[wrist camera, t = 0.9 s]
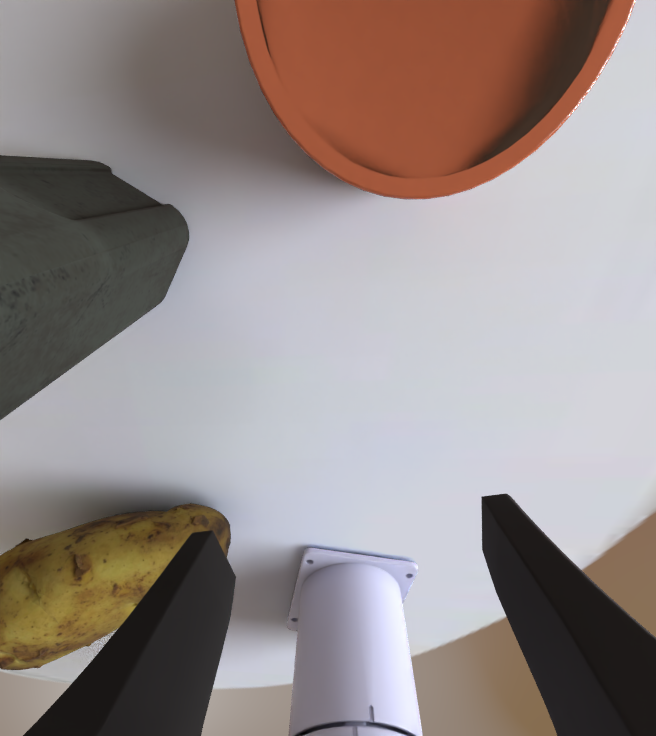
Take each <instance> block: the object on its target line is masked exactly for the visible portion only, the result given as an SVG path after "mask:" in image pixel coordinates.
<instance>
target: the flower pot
mask: <svg viewBox="0 0 656 736" xmlns="http://www.w3.org/2000/svg"><path fill="white" fill-rule="evenodd" d="M635 1H636V0H234V2H235V8H236V13H237V18H238V23H239V28H240V33H241V36H242V39H243V43H244V46H245V49H246V53H247V56H248V59H249V62H250V65H251V67H252V70H253V72H254V75H255V77H256V79H257V82H258V84H259V87H260V89H261V91H262V93H263V95H264V96H265V98H266V100H267V102H268V104H269V106H270V107H271V109H272V111H273V113H274V115H275V116H276V117H277V119H278V120H279V122H280V123H281V124H282V126H283V127H284V129H285V130H286V132H287V133H288V134H289V136H290V137H291V138H292V139H293V140H294V141H295V142H296V143H297V145H298V146H299V147H300V148H301V149H302V150H303V151H304V152H305V153H306V154H307V155H308V156H309V157H310V158H311V159H313V160H314V161H315V162H316V163H317V164H318V165H320V166H321V167H322V168H323V169H324V170H326V171H327V172H329V173H331V174H332V175H334V176H335V177H337V178H338V179H340V180H342V181H343V182H345V183H348V184H350V185H352V186H354V187H356V188H359V189H361V190H363V191H366V192H370V193H373V194H377V195H380V196H384V197H391V198H399V199H431V198H437V197H444V196H450V195H453V194H456V193H460V192H463V191H467V190H470V189H472V188H475V187H477V186H479V185H482V184H484V183H486V182H488V181H491V180H493V179H495V178H496V177H498V176H500V175H501V174H503V173H505V172H506V171H508V170H510V169H512V168H513V167H515V166H516V165H517V164H519V163H520V162H521V161H523V160H524V159H525V158H527V157H528V156H529V155H531V154H532V153H533V152H535V151H536V150H537V149H538V148H539V147H540V146H541V145H542V144H543V143H545V142H546V141H547V140H548V139H549V138H550V137H551V136H552V135H553V134H554V133H555V132H556V131H557V130H558V129H559V128H560V127H561V126H562V125H563V123H564V122H565V121H566V120H567V119H568V118H569V117H570V115H571V114H572V113H573V112H574V111H575V110H576V108H577V107H578V106H579V104H580V103H581V102H582V100H583V99H584V97H585V96H586V95H587V93H588V92H589V91H590V89H591V88H592V86H593V85H594V84H595V82H596V80H597V79H598V77H599V75H600V74H601V72H602V70H603V69H604V67H605V65H606V64H607V62H608V60H609V59H610V57H611V55H612V54H613V52H614V49H615V47H616V45H617V43H618V41H619V39H620V37H621V35H622V33H623V31H624V29H625V26H626V24H627V22H628V20H629V17H630V15H631V12H632V9H633V7H634V4H635Z"/></svg>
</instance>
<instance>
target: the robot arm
mask: <svg viewBox="0 0 656 736" xmlns="http://www.w3.org/2000/svg"><path fill="white" fill-rule="evenodd" d="M482 550H483V553H484V556H485V559H486V563H487V566H488V569H489V572H490V575H491V578H492V581H493V584H494V587H495V590H496V593H497V595H498V597H499V600H500V602H501V604H502V607H503V609H504V611H505V614H506V616H507V618H508V620H509V623H510V625H511V627H512V630H513V632H514V634H515V636H516V639H517V641H518V643H519V646H520V648H521V650H522V652H523V655H524V657H525V659H526V661H527V664H528V666H529V668H530V671H531V673H532V675H533V677H534V679H535V682H536V684H537V686H538V689H539V691H540V693H541V696H542V698H543V700H544V703H545V705H546V707H547V709H548V712H549V715H550V717H551V720H552V722H553V725H554V727H555V730H556V733H557V736H656V637H654V636H653V635H652V634H651V633H650V632H648V631H647V630H646V629H645V628H644V627H643V626H642V625H640V624H639V623H638V622H637V621H636V620H635V619H634V618H632V617H631V616H630V615H629V614H628V613H627V612H626V611H624V610H623V609H622V608H621V607H620V606H619V605H618V604H617V603H616V602H614V601H613V600H612V599H611V598H610V597H609V596H608V595H607V594H606V593H605V592H604V591H603V590H601V589H600V588H599V587H598V586H597V585H596V584H595V583H594V582H593V581H592V580H591V579H590V578H589V577H588V576H587V575H586V574H585V573H584V572H583V571H581V570H580V569H579V568H578V567H577V566H576V565H575V564H574V563H573V562H572V561H571V560H570V559H569V558H568V557H567V556H566V555H565V554H564V553H563V552H562V551H561V550H560V549H559V548H558V547H557V546H556V545H555V544H554V543H553V542H552V541H551V540H550V539H549V538H548V537H547V536H546V535H545V534H544V532H543V531H542V530H541V529H540V528H539V527H538V526H537V525H536V524H535V523H534V522H533V521H532V520H531V519H530V518H529V516H528V515H527V514H526V513H525V512H524V511H523V510H522V509H521V508H520V507H519V505H518V504H517V503H516V502H515V501H514V500H513V499H512V497H511V496H509V495H508V494H500V495H492V496H484V497H482ZM417 573H418V566H417V564H416V563H414V562H409V561H402V560H395V559H388V558H381V557H374V556H367V555H360V554H353V553H346V552H339V551H332V550H325V549H318V548H307V549H305V550H304V552H303V557H302V561H301V565H300V569H299V573H298V577H297V582H296V586H295V590H294V594H293V598H292V603H291V607H290V611H289V615H288V619H287V628H288V629H290V630H295V631H297V643H296V655H295V666H294V678H293V690H292V702H291V714H290V725H289V736H423V735H422V728H421V721H420V715H419V708H418V702H417V695H416V689H415V683H414V676H413V669H412V663H411V656H410V650H409V643H408V637H407V630H406V624H405V617H404V611H403V602H404V600H405V598H406V596H407V594H408V592H409V590H410V588H411V586H412V583H413V581H414V579H415V577H416V575H417ZM235 579H236V576H235V574H234V572H233V570H232V568H231V566H230V564H229V562H228V560H227V558H226V556H225V554H224V552H223V550H222V548H221V546H220V544H219V541H218V539H217V537H216V535H215V533H214V531H213V530H210V531H202V532H194V533H192V534H191V535H190V536H189V537H188V539H187V540H186V541H185V543H184V544H183V545H182V547H181V548H180V549H179V551H178V552H177V553H176V555H175V556H174V557H173V559H172V560H171V561H170V563H169V564H168V565H167V567H166V568H165V569H164V571H163V572H162V573H161V575H160V576H159V577H158V579H157V580H156V581H155V583H154V584H153V585H152V586H151V588H150V589H149V590H148V592H147V593H146V594H145V596H144V597H143V598H142V599H141V601H140V602H139V603H138V605H137V606H136V607H135V608H134V610H133V611H132V612H131V614H130V615H129V616H128V617H127V619H126V620H125V621H124V623H123V624H122V625H121V626H120V627H119V629H118V630H117V631H116V632H115V633H114V635H113V636H112V637H111V638H110V640H109V641H108V642H107V643H106V644H105V646H104V647H103V648H102V649H101V650H100V652H99V653H98V654H97V655H96V657H95V658H94V659H93V660H92V661H91V663H90V664H89V665H88V666H87V667H86V668H85V669H84V671H83V672H82V673H81V674H80V675H79V676H78V677H77V679H76V680H75V681H74V682H73V683H72V684H71V685H70V686H69V688H68V689H67V690H66V691H65V692H64V693H63V694H62V695H61V696H60V697H59V699H57V701H56V702H55V703H54V704H53V705H52V706H51V707H50V708H49V709H48V710H47V711H46V712H45V714H44V715H43V716H42V717H41V718H40V719H39V720H38V721H37V722H36V723H35V724H34V725H33V726H32V727H31V728H30V729H29V730H28V731H27V732H26V733H25V734H24V735H23V736H201V732H202V728H203V724H204V720H205V716H206V711H207V708H208V704H209V700H210V696H211V692H212V688H213V684H214V680H215V677H216V673H217V669H218V665H219V661H220V657H221V653H222V649H223V645H224V641H225V637H226V633H227V629H228V625H229V621H230V615H231V609H232V602H233V595H234V587H235Z"/></svg>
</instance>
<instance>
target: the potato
mask: <svg viewBox="0 0 656 736" xmlns="http://www.w3.org/2000/svg"><path fill="white" fill-rule="evenodd" d="M210 530H213V531H214V533H215V535H216V537H217V539H218V541H219V544H220V546H221V548H222V550H223V552H224V554H225V556H226V558H227V554H228V549H229V545H230V539H231V533H230V524H229V522H228V520H227V519H226V518H225V517H224V515H222V514H221V513H220V512H218V511H216V510H215V509H212V508H209V507H206V506H202V505H197V504H191V503H190V504H183V505H179V506H175V507H173V508H172V509H170V510H168V511H167V512H165V511H146V512H133V513H125V514H121V515H114V516H110V517H106V518H102V519H99V520H95V521H92V522H89V523H86V524H83V525H80V526H77V527H74V528H71V529H68V530H65V531H62V532H59V533H55V534H52V535H49V536H45V537H42V538H39V539H36V540H29V539H25V540H24V541H22V542H21V543H20V544H18V545H16V546H15V547H14V548H13V549H11V550H9V551H7V552H5V553H3V554H2V555H0V668H1V669H3V670H23V669H30V668H40V667H41V666H42V665H44V664H47V663H49V662H51V661H54V660H56V659H58V658H61V657H63V656H65V655H67V654H69V653H71V652H73V651H75V650H78V649H80V648H82V647H84V646H90V645H91V643H93V642H94V641H96V640H98V639H100V638H102V637H104V636H105V635H107V634H109V633H111V632H112V631H114V630H116V629H118V628H119V627H120V626H121V625H122V624H123V623H124V621H125V620H126V619H127V617H128V616H129V615H130V614H131V612H132V611H133V610H134V608H135V607H136V606H137V605H138V603H139V602H140V601H141V599H142V598H143V597H144V596H145V594H146V593H147V592H148V590H149V589H150V588H151V586H152V585H153V584H154V583H155V581H156V580H157V579H158V577H159V576H160V575H161V573H162V572H163V571H164V569H165V568H166V567H167V565H168V564H169V563H170V561H171V560H172V559H173V557H174V556H175V555H176V553H177V552H178V551H179V549H180V548H181V547H182V545H183V544H184V543H185V541H186V540H187V539H188V537H189V536H190V535H191V534H192V533H194V532H202V531H210Z"/></svg>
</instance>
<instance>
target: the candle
mask: <svg viewBox="0 0 656 736" xmlns="http://www.w3.org/2000/svg"><path fill="white" fill-rule="evenodd" d="M188 241H189V230H188V226H187V223H186V221H185V219H184V217H183V216H182V215H181V213H180V212H179V211H178V210H177V209H176V208H174V207H173V206H172V205H170V204H166V205H162V204H160V203H159V202H157V201H156V200H154V199H152V198H151V197H149V196H147V195H146V194H144V193H143V192H141V191H139V190H138V189H136V188H134V187H133V186H131V185H130V184H128V183H126V182H125V181H123V180H121V179H120V178H118V177H116V176H115V175H113V174H112V173H111V168H110V167H109V166H107V165H105V164H103V163H100V162H96V161H89V160H72V159H54V158H36V157H19V156H1V155H0V420H1V419H2V418H4V417H5V416H6V415H8V414H9V413H11V412H12V411H13V410H15V409H16V408H17V407H19V406H20V405H22V404H23V403H24V402H26V401H27V400H28V399H30V398H31V397H32V396H34V395H35V394H37V393H38V392H39V391H41V390H42V389H43V388H45V387H46V386H48V385H49V384H50V383H52V382H53V381H54V380H56V379H57V378H59V377H60V376H61V375H63V374H64V373H65V372H67V371H68V370H69V369H71V368H72V367H74V366H75V365H76V364H78V363H79V362H80V361H82V360H83V359H85V358H86V357H87V356H89V355H90V354H91V353H93V352H94V351H95V350H97V349H98V348H100V347H101V346H102V345H104V344H105V343H106V342H108V341H109V340H111V339H112V338H113V337H115V336H116V335H117V334H119V333H120V332H121V331H123V330H124V329H126V328H127V327H128V326H130V325H131V324H132V323H134V322H135V321H137V320H138V319H139V318H141V317H142V316H143V315H145V314H146V313H147V312H149V311H150V310H152V309H153V308H154V307H156V306H157V305H158V304H160V303H161V302H162V301H163V299H164V297H165V296H166V293H167V291H168V289H169V286H170V284H171V282H172V279H173V277H174V275H175V273H176V270H177V268H178V266H179V263H180V261H181V259H182V256H183V254H184V252H185V250H186V247H187V244H188Z"/></svg>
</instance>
